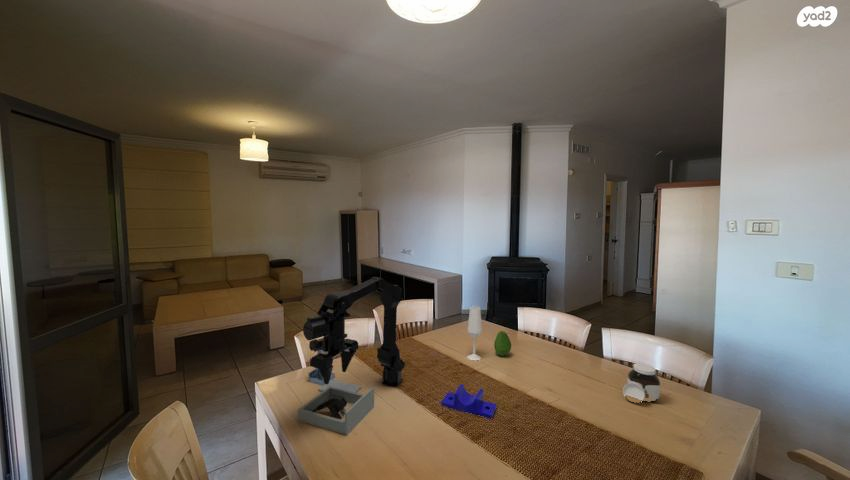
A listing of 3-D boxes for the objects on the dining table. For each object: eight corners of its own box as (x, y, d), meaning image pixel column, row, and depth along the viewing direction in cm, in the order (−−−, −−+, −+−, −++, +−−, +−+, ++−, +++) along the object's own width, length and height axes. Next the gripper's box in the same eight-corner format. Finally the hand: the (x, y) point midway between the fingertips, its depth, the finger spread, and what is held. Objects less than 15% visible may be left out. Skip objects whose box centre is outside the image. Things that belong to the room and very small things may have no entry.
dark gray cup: (329, 378, 133) (328, 348, 132) (320, 381, 130) (320, 351, 129) (324, 375, 135) (323, 345, 134) (316, 378, 133) (315, 348, 131)
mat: (361, 387, 127) (361, 386, 127) (349, 398, 119) (349, 397, 119) (331, 380, 132) (331, 379, 132) (318, 390, 124) (318, 389, 124)
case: (374, 406, 114) (374, 387, 114) (347, 435, 100) (347, 413, 99) (329, 395, 121) (329, 377, 121) (298, 420, 106) (297, 399, 106)
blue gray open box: (335, 377, 135) (335, 368, 134) (324, 385, 128) (323, 376, 128) (320, 373, 137) (319, 365, 137) (308, 381, 131) (308, 373, 131)
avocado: (493, 357, 155) (493, 332, 154) (494, 351, 163) (495, 327, 162) (510, 360, 153) (511, 334, 152) (511, 353, 160) (512, 329, 159)
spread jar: (656, 395, 124) (658, 365, 123) (663, 411, 114) (665, 379, 113) (619, 388, 129) (621, 359, 128) (623, 403, 119) (625, 371, 118)
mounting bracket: (496, 409, 115) (497, 392, 114) (491, 420, 108) (492, 403, 108) (448, 396, 122) (448, 381, 122) (440, 406, 115) (441, 390, 115)
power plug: (313, 405, 113) (341, 387, 112) (326, 423, 113) (353, 406, 112) (306, 415, 108) (335, 397, 106) (319, 434, 108) (348, 416, 106)
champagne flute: (480, 355, 158) (481, 306, 156) (481, 361, 151) (483, 310, 149) (466, 354, 158) (467, 305, 157) (466, 360, 152) (468, 309, 150)
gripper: (333, 320, 120) (333, 362, 121) (296, 337, 103) (296, 385, 104) (359, 325, 116) (359, 367, 117) (324, 343, 99) (324, 393, 100)
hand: (335, 377), depth 110 cm, fingers open, 9 cm apart
